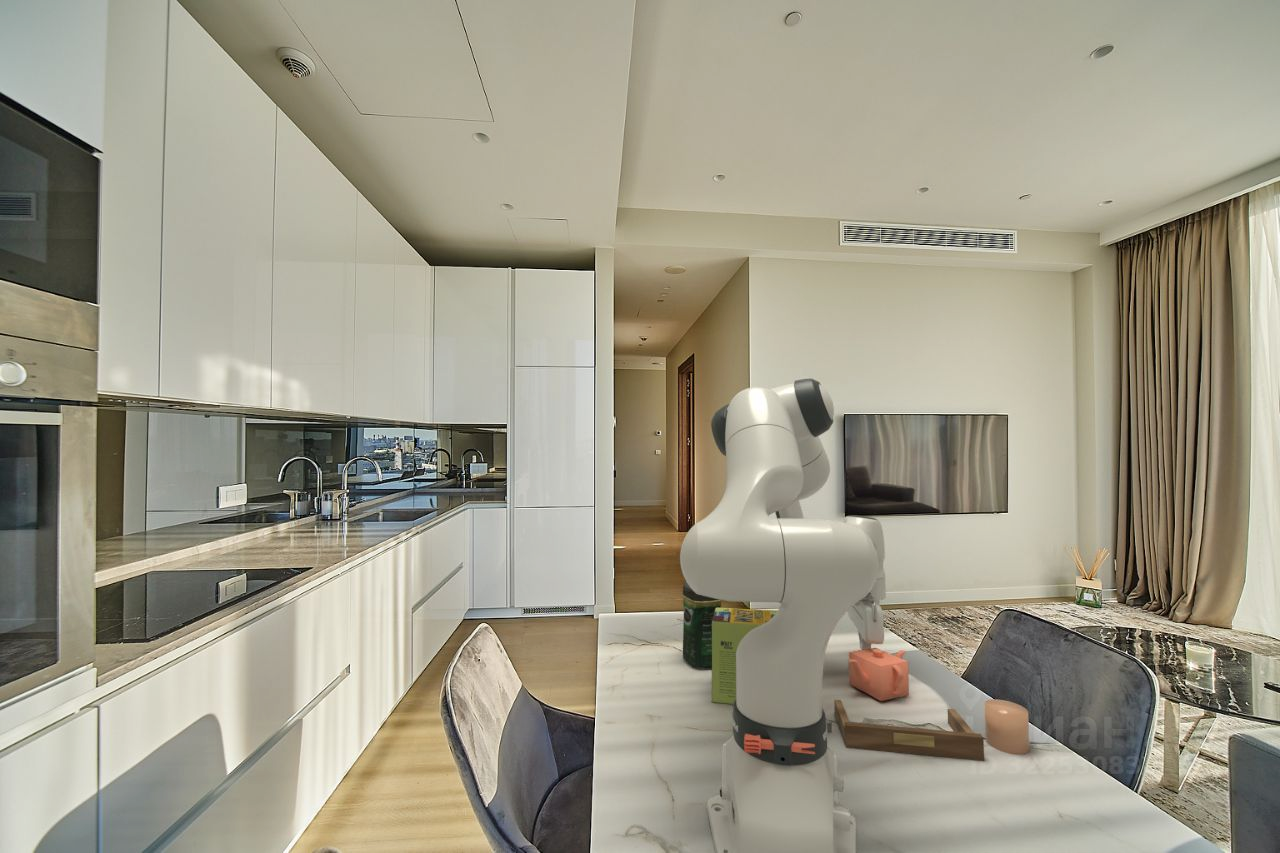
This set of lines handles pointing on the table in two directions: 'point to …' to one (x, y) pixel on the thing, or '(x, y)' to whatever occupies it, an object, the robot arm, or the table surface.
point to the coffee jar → (698, 627)
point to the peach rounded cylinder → (1007, 726)
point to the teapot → (879, 673)
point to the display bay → (912, 737)
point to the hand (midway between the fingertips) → (865, 651)
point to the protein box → (730, 646)
